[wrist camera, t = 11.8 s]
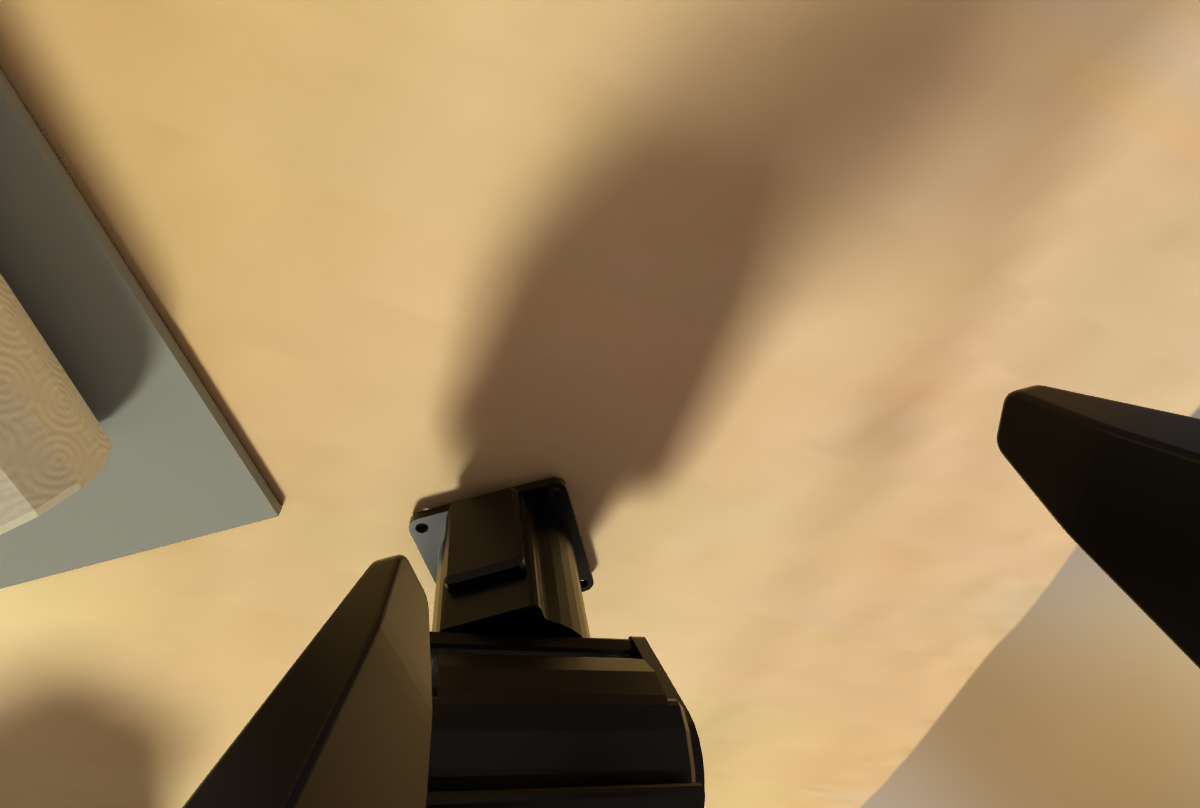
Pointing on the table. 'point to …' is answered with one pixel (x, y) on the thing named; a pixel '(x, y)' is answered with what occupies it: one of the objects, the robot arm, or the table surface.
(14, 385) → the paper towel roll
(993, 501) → the table surface
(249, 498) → the gray mat
